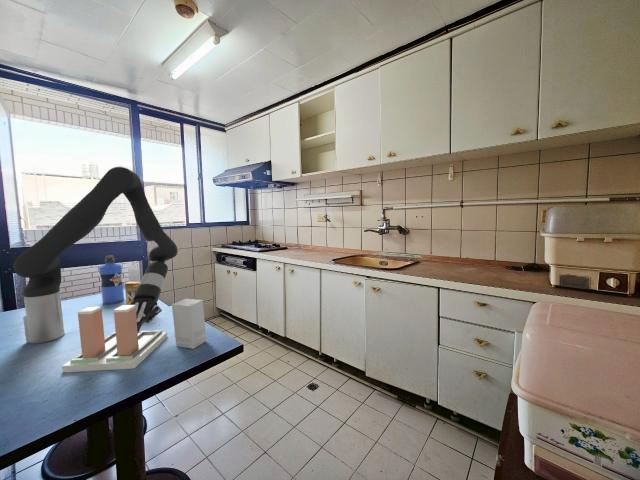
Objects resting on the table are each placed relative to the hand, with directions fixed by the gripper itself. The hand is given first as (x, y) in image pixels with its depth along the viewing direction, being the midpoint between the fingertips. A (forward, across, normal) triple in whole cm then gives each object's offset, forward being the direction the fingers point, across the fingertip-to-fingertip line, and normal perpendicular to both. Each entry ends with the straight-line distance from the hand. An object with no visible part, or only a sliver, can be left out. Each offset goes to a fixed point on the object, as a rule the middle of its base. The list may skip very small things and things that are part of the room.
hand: (132, 334), depth 86 cm
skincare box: (+1, +16, +9) cm, 18 cm away
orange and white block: (+5, -10, +1) cm, 11 cm away
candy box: (-21, -19, +31) cm, 42 cm away
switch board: (+4, -5, +6) cm, 9 cm away
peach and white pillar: (+5, 0, +1) cm, 5 cm away
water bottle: (-36, -44, +46) cm, 73 cm away
